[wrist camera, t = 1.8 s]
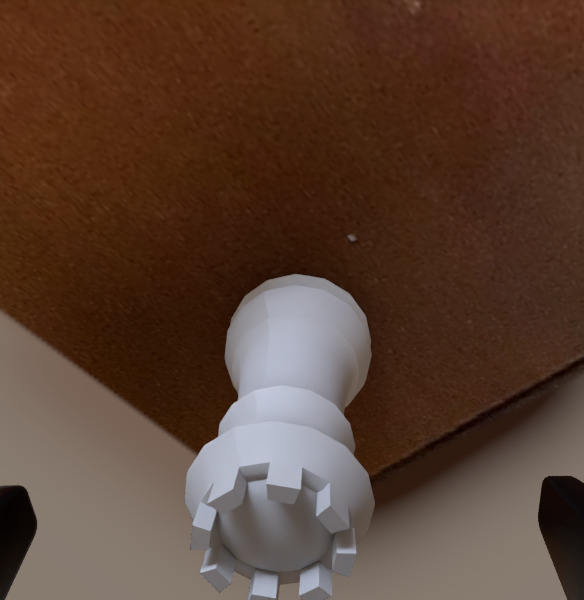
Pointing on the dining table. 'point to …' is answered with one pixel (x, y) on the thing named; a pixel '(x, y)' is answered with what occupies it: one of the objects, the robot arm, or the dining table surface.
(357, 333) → the rook chess piece
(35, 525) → the robot arm
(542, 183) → the dining table surface
